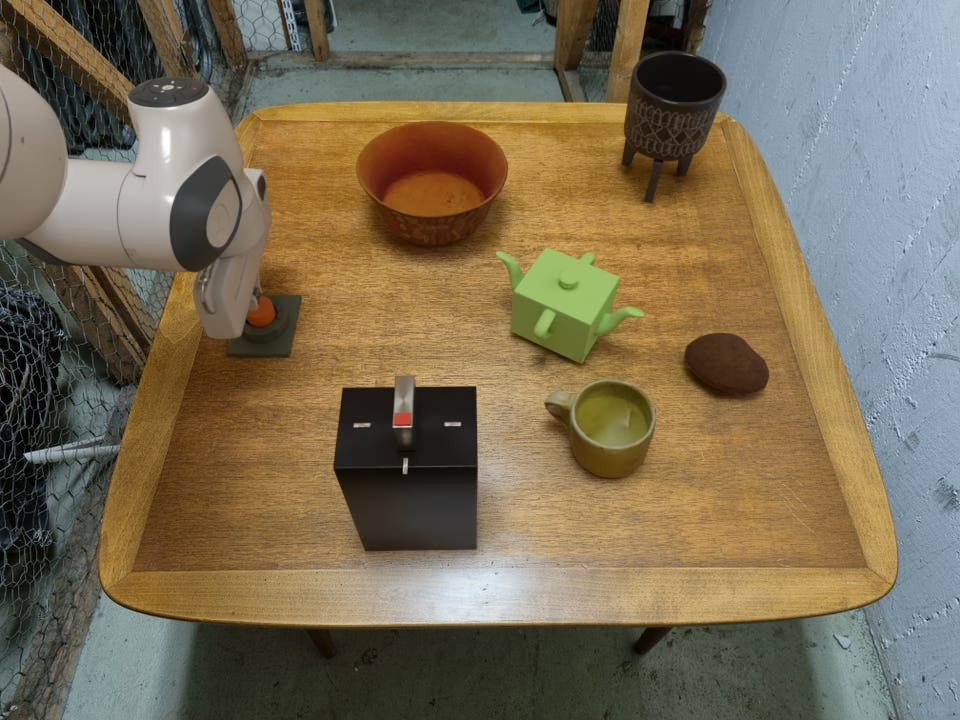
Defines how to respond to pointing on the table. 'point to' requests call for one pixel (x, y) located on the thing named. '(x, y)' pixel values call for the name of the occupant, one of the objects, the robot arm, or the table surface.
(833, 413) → the table surface
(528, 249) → the table surface
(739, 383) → the potato
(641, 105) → the planter
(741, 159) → the table surface
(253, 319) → the button
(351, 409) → the black lever box
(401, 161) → the bowl
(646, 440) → the mug
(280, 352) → the housing
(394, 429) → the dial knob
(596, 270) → the teapot
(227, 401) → the table surface
